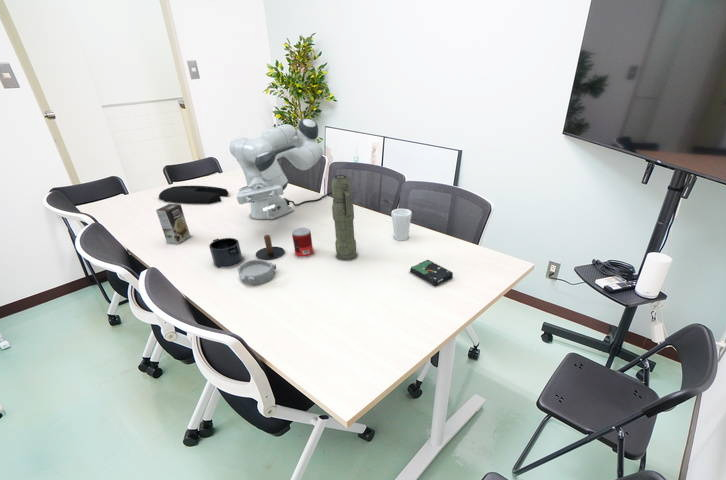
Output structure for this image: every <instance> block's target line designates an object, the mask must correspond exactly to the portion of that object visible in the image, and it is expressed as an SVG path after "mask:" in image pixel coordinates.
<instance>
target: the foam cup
mask: <svg viewBox="0 0 726 480" xmlns="http://www.w3.org/2000/svg"><path fill="white" fill-rule="evenodd" d="M412 214H413V212H412V210H410V209H408V208H394V209H393V210H392V211H391V213H390V216H391V221H392V228H393V229H392V230H393V236H394V239H395V240H397V241H406V240H408V238H409V232H410V225H411V220H412V216H413V215H412Z"/></svg>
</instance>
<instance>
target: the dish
mask: <svg viewBox="0 0 726 480" xmlns="http://www.w3.org/2000/svg"><path fill="white" fill-rule="evenodd" d="M276 269H277V264H276V263H272V262H270V261H268V260H261V259H258V258H257V259H250V260H247V261H244V262H242V263H241V264H240V265H239V266H238V267H237V272H238V276H239V279H240V280H241V281H242V283H244V284H245V285H249V286H258V285H262V284H265V283H268V282H269V281H271V280H272V279H273V277H274V275H275V270H276Z"/></svg>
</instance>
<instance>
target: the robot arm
mask: <svg viewBox="0 0 726 480" xmlns="http://www.w3.org/2000/svg"><path fill="white" fill-rule="evenodd" d="M318 138H319V125H318V123H317V122H316V121H315V120H314V119H312V118H308V117H307V118H302V119H300V121H299V123H298V126H297V129H296V128H295V126H293V125H291V124H289V123H286V124H280V125H277V126H274V127H272V128H270V129H267V130H265V131H263V132H262V133H261V136H260V137H259V138H248V137H235V138H232V140H231V141H230V143H229V152H230V154H231V155H232V157H234V159H235V160H236V162H238V164H239V166H240V168H241V170H242V172H243V174H244V177H245V181H246V186H243V187H239V189H238V192H237V193H236V196H235V197H236V201H237V203H238V204H239V205H243V204H250V217H251V218H252V219H254V220H275V219H277V218H280V217H282V216H284V215H287V214H289V213H291V212H293V208H292V207H291V206H290V205H291V203H292V205H293V206H295V207H297V206H301V205H303V204H306V203H313V202H317V201H321V200H323V198H326V197H328V196H330V195H332V192H328V193H326V194H323V195H322V196H321V197H319V198H317V199H309V200H304V201H301V202H300V203H295V201H293V200H289V199H288V198H286V197H282V196H283V195H284V190H286V188H287V187H288V184H289V179H288V178H287V176H286V174H285V172H284V170H283V169H282V167H281V166H280V163H279V161H278V159H280V158H285V159H286V160H288V161H289V163H291V164H292V166H293V167H294V168H296V169H297V170H300V171H307V170H309V169H311V168H312V167H314V166H315V165H316V164H317V163H319V161H320V160H321V159H322V157H323V155H324V150H323V148H322V146H321V145H320V144H319V143H318Z"/></svg>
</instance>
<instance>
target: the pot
mask: <svg viewBox="0 0 726 480" xmlns="http://www.w3.org/2000/svg"><path fill="white" fill-rule="evenodd" d="M208 247H209V251H210V254H211V257H212V261H213V265H214V266H215V267H216V268H219V269H220V268H228V267H229V268H230V267H234V266H236V265H238V264H240V263H241V262H242V261H243V260H244V258H243V254H242V251H241V246H240V242H239V240H238V239H236V238H234V237H225V238H215V239H213V240H212V241H211V242H210V243H209V246H208Z"/></svg>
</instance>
